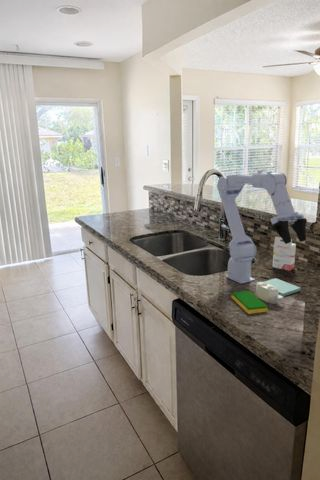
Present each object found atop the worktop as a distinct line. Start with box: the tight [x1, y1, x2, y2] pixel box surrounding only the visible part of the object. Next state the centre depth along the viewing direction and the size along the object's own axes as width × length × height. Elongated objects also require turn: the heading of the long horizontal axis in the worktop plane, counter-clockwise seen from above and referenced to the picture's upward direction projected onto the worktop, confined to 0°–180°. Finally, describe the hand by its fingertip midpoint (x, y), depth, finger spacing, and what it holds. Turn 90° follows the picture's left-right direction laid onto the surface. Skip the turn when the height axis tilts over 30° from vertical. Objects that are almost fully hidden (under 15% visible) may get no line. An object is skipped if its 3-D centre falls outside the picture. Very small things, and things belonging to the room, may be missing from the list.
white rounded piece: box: [255, 281, 285, 305], centre depth 126 cm, size 11×4×5 cm, turn 31°
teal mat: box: [263, 277, 301, 297], centre depth 137 cm, size 12×10×1 cm
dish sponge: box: [230, 290, 268, 315], centre depth 124 cm, size 7×14×2 cm, turn 13°
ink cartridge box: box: [272, 236, 297, 272], centre depth 157 cm, size 9×5×15 cm, turn 47°
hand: (295, 241), depth 117 cm, fingers open, 7 cm apart
